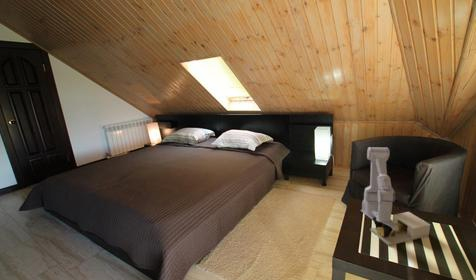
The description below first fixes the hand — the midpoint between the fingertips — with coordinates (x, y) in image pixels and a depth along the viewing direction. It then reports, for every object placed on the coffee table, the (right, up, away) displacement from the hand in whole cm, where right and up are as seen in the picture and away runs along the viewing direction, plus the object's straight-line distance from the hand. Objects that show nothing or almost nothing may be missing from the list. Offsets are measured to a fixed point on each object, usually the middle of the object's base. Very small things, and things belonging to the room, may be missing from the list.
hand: (382, 233), depth 114 cm
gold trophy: (+5, 0, +1) cm, 5 cm away
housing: (+10, -1, +2) cm, 10 cm away
